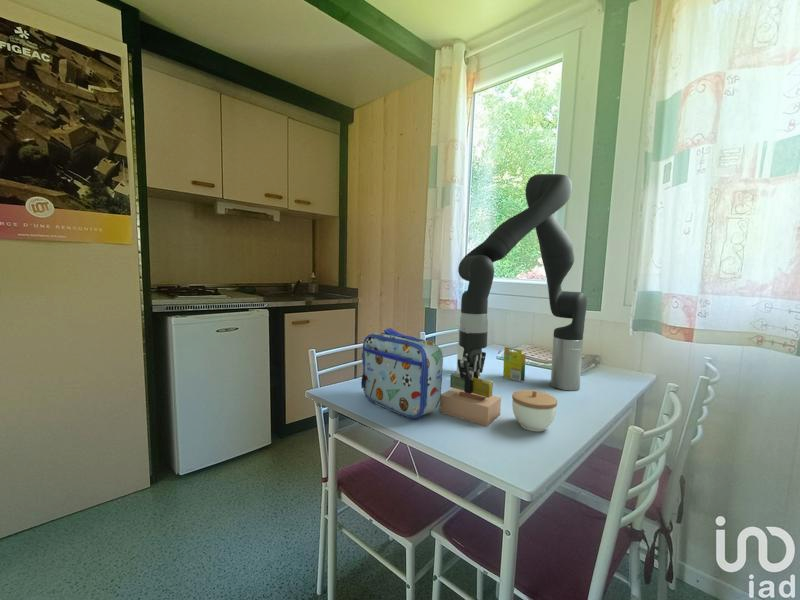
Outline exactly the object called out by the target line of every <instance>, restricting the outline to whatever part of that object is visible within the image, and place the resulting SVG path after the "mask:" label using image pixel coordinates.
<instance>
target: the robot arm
mask: <svg viewBox="0 0 800 600" xmlns="http://www.w3.org/2000/svg"><path fill="white" fill-rule="evenodd" d="M572 192H573V183H572V180H571V179H570V177H569V176H568V175H565V174H560V173H540V174H534V175H531V176H530V178H529V179H528V180H527V182H526V185H525V198H526V204H527V208H525V209H524V210H522V211H521V212H519V213H517V214H515V215H513V216H511V217H510V218H508V219H506V220H504V221H503V222H502V223H500V224H499V225H498V226H497V227H496V228H495V229H494V230H493V231H492V232H491V233H490V234H489V236H488V237H487V238H486V239H485V240H484V241H483V242H482V243H480V244H479V245H477V246H476V247H475V248H473V249H472V250H471V251H469V252H468V253H466V254H465V256H463V258H462V259H461V260H460V263H459V264H458V270H457V271H458V275H459V276H460V278H461V279H462V280H464V281H467V282H468V286H467V290H466V291H464V292H463V293H462V295H461V300H460V302H461V303H460V315H459V316H460V317H459V318H460V319H459V324H460V328H459V345H460V346H461V347H463V348H464V352H463V358H462V360H460V359H458V368H459V373H460V378H463V379H465V385H464V391H465V392H466V393H469V394H471V393H472V392H473V377H475V378H479V377H480V376H481V374H482V373H483V370H484V367H485V361H486V357H487V356H486V355H487V353H486V352H485V351H482V349H486V348H487V347H488V332H489V331H488V329H489V318H488V306H489V304H488V303H489V302H488V301H489V294H490V292H491V289H492V285H493V281H494V278H495V267H494V263H495V262H497V261H500V260H502V259H504V258H505V257H506V256H507V255H508V254H509V253H510V252H511V251H512V250H513V249H514V248H515V247H516V246H517V244H519V243H520V241H521V240H522V239H524V238H525V237H526V236H527V235H528V234H529V233H531V232H532V231H533V230H535V234H536V236H537V239H538V244H539V250H540V255H541V259H542V264H543V269H544V273H545V278H546V282H547V291H548V300H549V308H550V311H551V314H552V315H553V316H554V317H555V318H562V319H571V320H572V321H571V323H569V324H567V325H564V326H558V327H556V328H554V329H553V338H552V354H551V356H552V357H551V371H550V373H551V374H550V385H551V386H552V387H554V388H556V389H558V390H565V391H578V390H580V388H581V387H580V386H581V375H582V361H583V358H582V357H583V343H584V333H585V332H584V330H585V322H586V313H587V306H588V305H587V302H588V300H587V295H586V294H585V292H581V291H569V290H568V291H566V290H562V287H561V286H562V283H563V281H564V279H565V278H566V276H567V275H568V273H569V272H570V271H571V269H572V267H573V265H574V263H575V255H574V248H573V246H574V245H573V243H572V240H571V237H570V236H569V235H568V233H567V231H566V230H565V229H564V227H563V226H562V225H561V223H559V221H558V220H557V218H556V216H555V214H556V213H557V211H559V210H560V209H561V208H563V207H564V206H565V205H566V203H568V201H569V200H570V198H571V195H572ZM463 372H464V373H463Z"/></svg>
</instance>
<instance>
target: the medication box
mask: <svg viewBox="0 0 800 600" xmlns="http://www.w3.org/2000/svg"><path fill="white" fill-rule="evenodd" d="M493 384H494V382H493V381H492V380H487V379H483V378H479V377H478V378H475V377H473V392H472V393H473V394H477V395H480V396H484V397H487V398H489V397H491V396H492V395H493V387H494V386H493ZM449 385H450V388H451V389H452V388H456V389H459V390H463V391H464V385H465V379H463V378H460V374H459V373H457V372H452V373H450V383H449Z"/></svg>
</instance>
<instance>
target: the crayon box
mask: <svg viewBox="0 0 800 600" xmlns="http://www.w3.org/2000/svg"><path fill="white" fill-rule="evenodd" d="M522 351H523V350H522V349H517V348H511V347H508V346H504V352H503V374H502V375H503V377H502V378H503V379H510V380H512V381H516V382H520V383H521V381H522V382H524V381H525V377H526V375H525V374H526V373H525V372H526V354H525V353H522Z"/></svg>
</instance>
